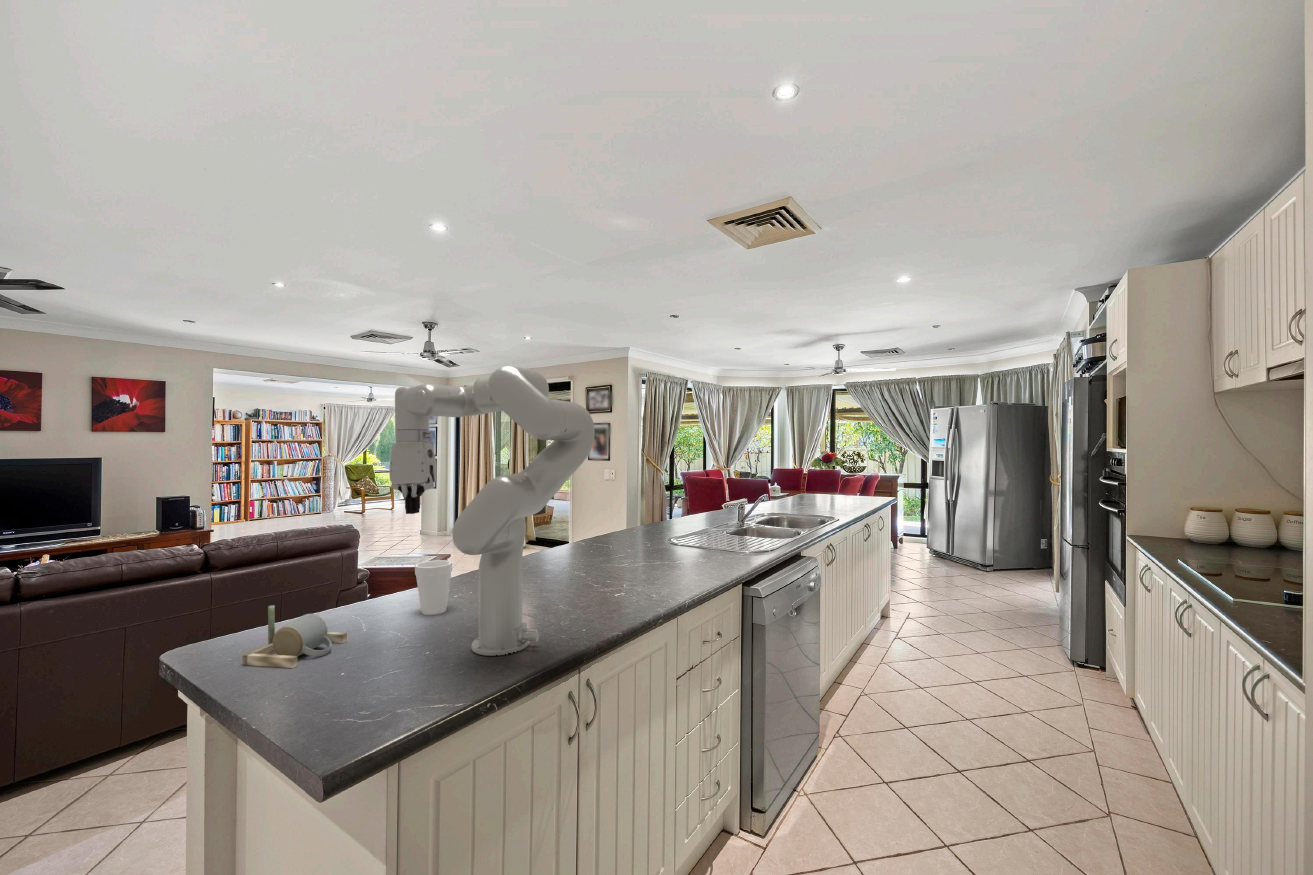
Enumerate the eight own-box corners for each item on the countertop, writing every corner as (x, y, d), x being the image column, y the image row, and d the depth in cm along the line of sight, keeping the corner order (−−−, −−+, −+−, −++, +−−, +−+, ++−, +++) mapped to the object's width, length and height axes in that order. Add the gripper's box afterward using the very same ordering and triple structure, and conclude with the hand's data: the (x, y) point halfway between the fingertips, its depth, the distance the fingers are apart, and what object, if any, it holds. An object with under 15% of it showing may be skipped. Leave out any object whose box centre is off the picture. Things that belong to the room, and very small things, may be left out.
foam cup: (408, 615, 148) (407, 567, 148) (427, 605, 157) (427, 559, 157) (440, 617, 146) (440, 568, 146) (458, 607, 155) (458, 560, 155)
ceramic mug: (268, 660, 118) (269, 624, 118) (297, 646, 126) (297, 612, 126) (315, 662, 117) (315, 626, 117) (340, 647, 125) (341, 613, 125)
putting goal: (346, 641, 129) (346, 598, 129) (292, 668, 113) (292, 619, 114) (297, 638, 131) (296, 596, 131) (237, 664, 116) (237, 616, 116)
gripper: (448, 437, 137) (449, 511, 137) (394, 438, 139) (394, 511, 139) (431, 437, 129) (432, 515, 129) (374, 438, 132) (374, 514, 132)
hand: (412, 513), depth 134 cm, fingers closed
